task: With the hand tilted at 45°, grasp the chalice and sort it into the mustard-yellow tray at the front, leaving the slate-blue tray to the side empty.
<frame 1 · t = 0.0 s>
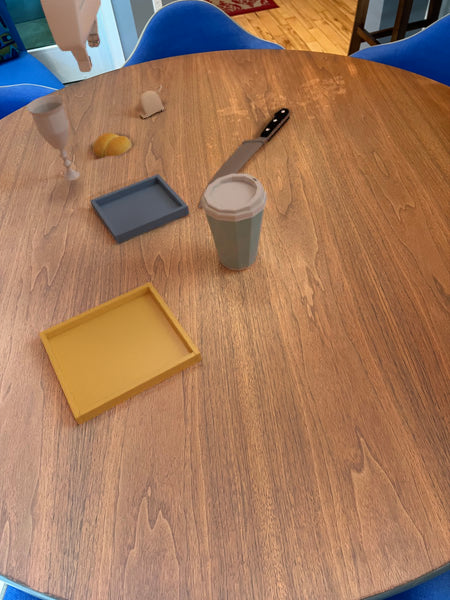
hand: (91, 57, 78), 29 cm above the table, tool pointing down, fingers open, 8 cm apart
chalice: (74, 183, 106), on the table
slate tray: (140, 211, 97), on the table
decorative ornament: (153, 112, 125), on the table
bread roll: (114, 153, 113), on the table
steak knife: (247, 158, 108), on the table
mustard tray: (119, 350, 75), on the table
disposable coffee cup: (237, 258, 87), on the table
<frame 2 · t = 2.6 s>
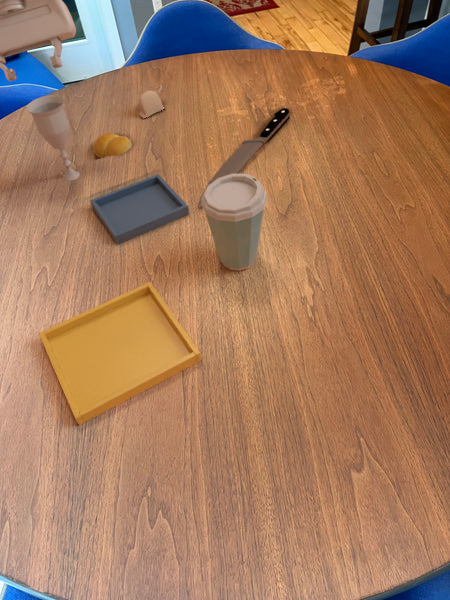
hand: (35, 73, 94), 21 cm above the table, tool tilted 35°, fingers open, 8 cm apart
nothing on the table moved.
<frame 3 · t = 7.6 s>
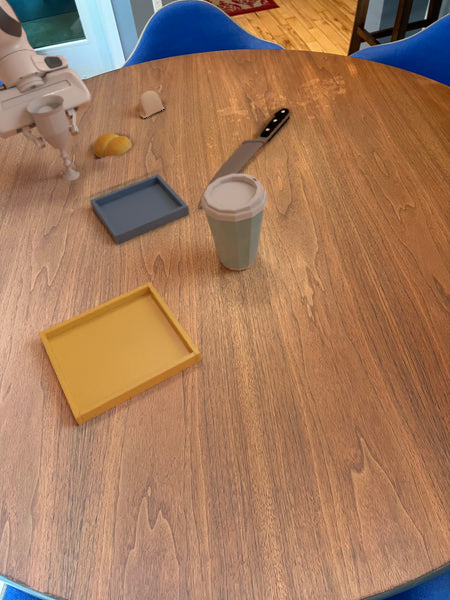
hand: (59, 140, 97), 10 cm above the table, tool tilted 45°, fingers closed on chalice, 6 cm apart
chalice: (74, 183, 106), on the table, touching gripper
everything else where it was.
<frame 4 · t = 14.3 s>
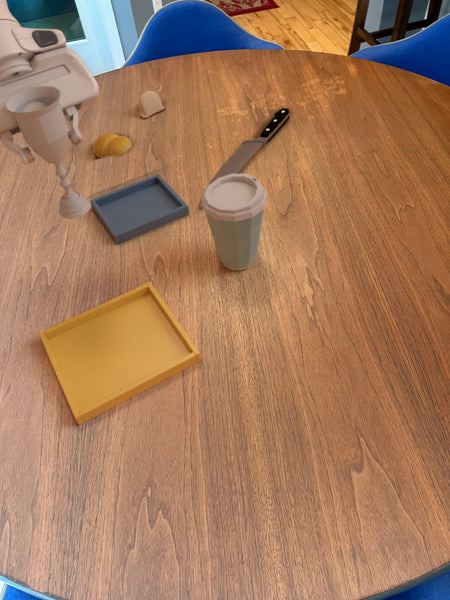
hand: (54, 152, 68), 24 cm above the table, tool tilted 45°, fingers closed on chalice, 6 cm apart
chalice: (75, 209, 76), point 14 cm above the table, touching gripper
everything else where it was.
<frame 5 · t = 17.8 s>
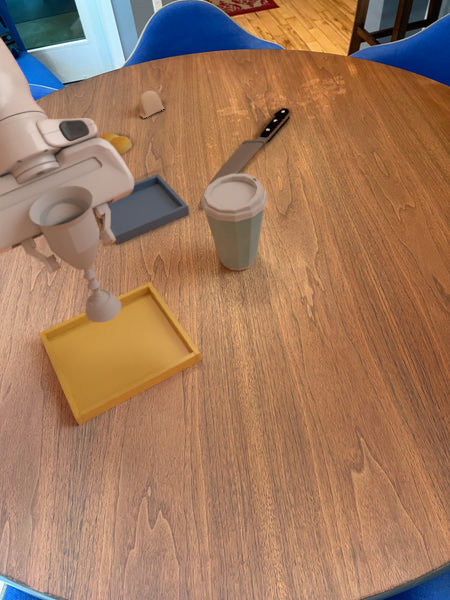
hand: (83, 257, 59), 20 cm above the table, tool tilted 45°, fingers closed on chalice, 6 cm apart
chalice: (103, 309, 67), point 10 cm above the table, touching gripper
everything else where it was.
when the fingers open (11 cm above the table, at t = 20.9 s): chalice stays where it is, resting on mustard tray.
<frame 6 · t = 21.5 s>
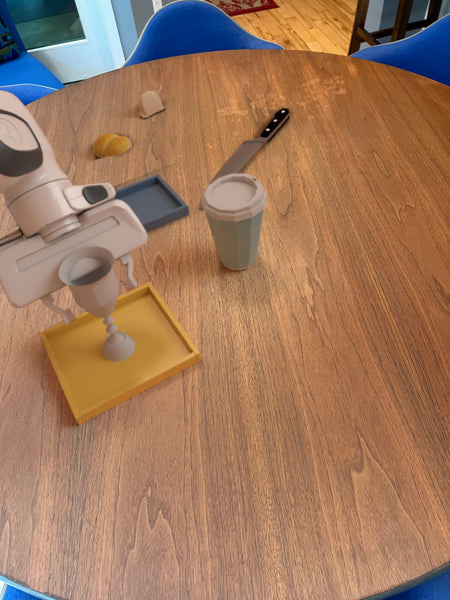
hand: (102, 305, 66), 11 cm above the table, tool tilted 45°, fingers open, 8 cm apart
chalice: (119, 348, 74), resting on mustard tray
everything else where it was.
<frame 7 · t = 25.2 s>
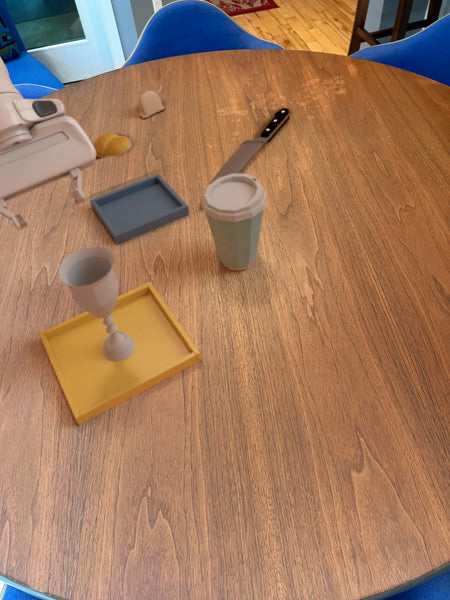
hand: (53, 214, 71), 17 cm above the table, tool tilted 45°, fingers open, 8 cm apart
nothing on the table moved.
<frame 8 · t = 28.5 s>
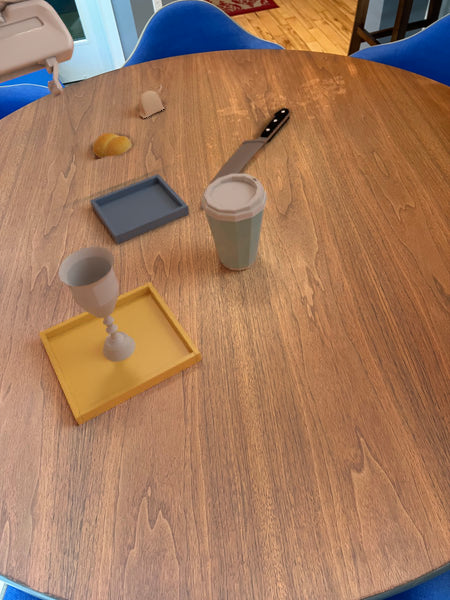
hand: (27, 105, 67), 29 cm above the table, tool tilted 45°, fingers open, 8 cm apart
nothing on the table moved.
at the end: chalice inside the target area in the mustard tray (0.0 cm from its centre), point 0.3 cm above the mustard tray's base; chalice tilted 0°; the gripper is holding nothing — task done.
